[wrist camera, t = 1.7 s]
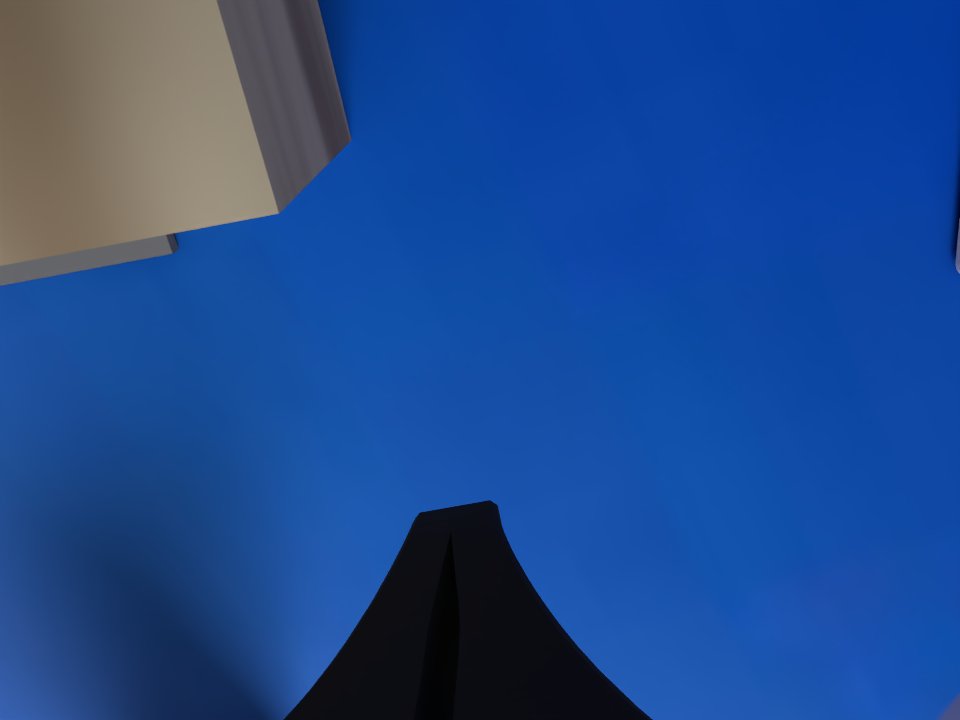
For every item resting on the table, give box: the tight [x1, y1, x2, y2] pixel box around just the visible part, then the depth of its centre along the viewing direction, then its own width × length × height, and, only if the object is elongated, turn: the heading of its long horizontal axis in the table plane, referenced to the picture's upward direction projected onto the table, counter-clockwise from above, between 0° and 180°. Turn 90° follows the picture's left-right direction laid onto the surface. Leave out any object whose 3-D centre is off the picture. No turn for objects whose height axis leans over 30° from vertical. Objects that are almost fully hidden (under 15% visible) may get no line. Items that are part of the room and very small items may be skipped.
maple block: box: [0, 0, 351, 266], centre depth 14 cm, size 5×6×9 cm
